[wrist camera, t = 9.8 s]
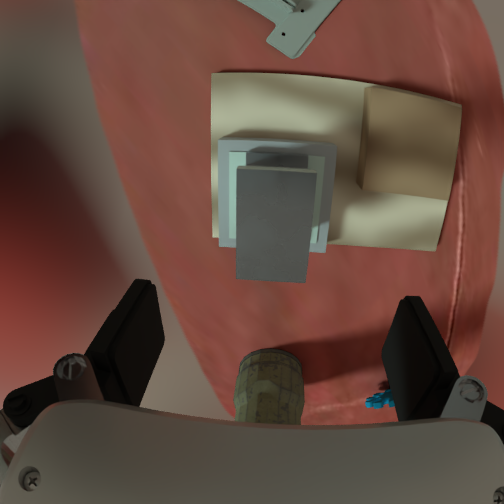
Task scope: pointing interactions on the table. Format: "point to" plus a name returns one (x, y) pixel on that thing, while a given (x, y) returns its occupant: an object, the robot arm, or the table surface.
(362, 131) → the stand
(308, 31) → the metal bracket
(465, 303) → the table surface
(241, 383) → the thermos
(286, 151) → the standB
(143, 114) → the table surface
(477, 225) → the table surface
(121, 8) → the table surface
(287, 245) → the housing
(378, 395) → the gear
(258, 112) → the board
